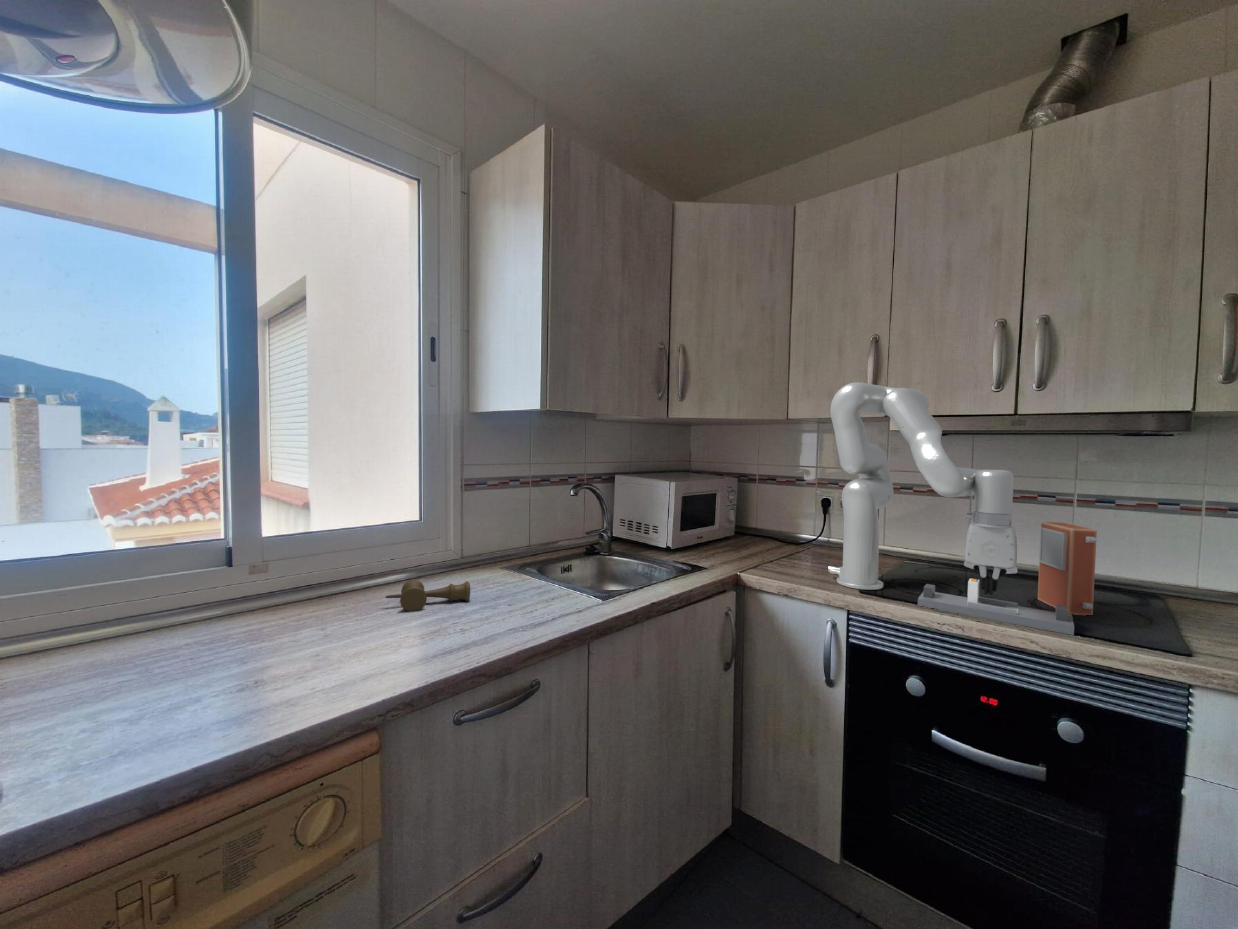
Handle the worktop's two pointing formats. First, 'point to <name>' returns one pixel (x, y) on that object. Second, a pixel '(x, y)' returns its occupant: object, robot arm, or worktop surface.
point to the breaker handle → (973, 590)
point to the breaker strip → (999, 611)
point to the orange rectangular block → (1067, 566)
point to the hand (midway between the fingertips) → (988, 593)
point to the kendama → (429, 594)
